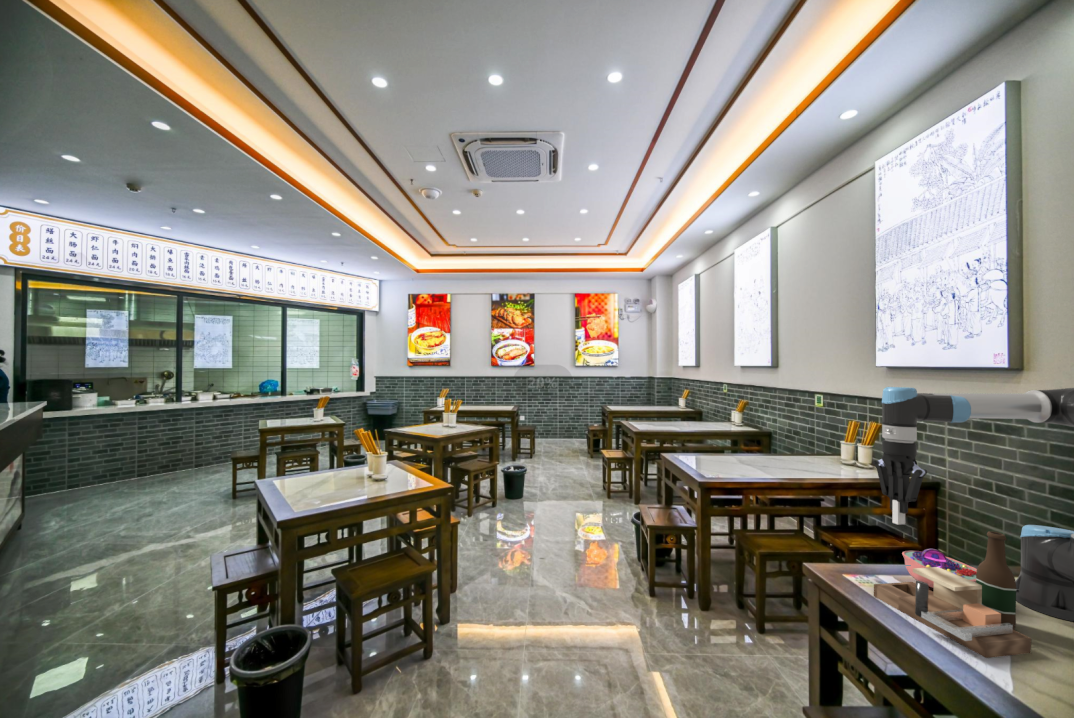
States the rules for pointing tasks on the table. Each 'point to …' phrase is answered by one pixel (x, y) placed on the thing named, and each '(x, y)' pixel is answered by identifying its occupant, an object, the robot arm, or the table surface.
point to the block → (980, 615)
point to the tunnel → (952, 586)
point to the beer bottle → (997, 580)
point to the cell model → (936, 564)
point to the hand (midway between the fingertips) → (898, 523)
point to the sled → (954, 618)
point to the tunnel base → (951, 621)
